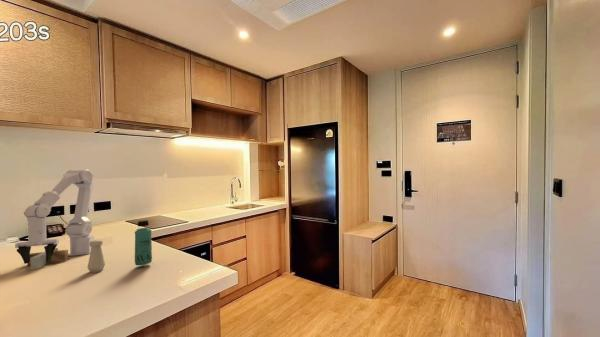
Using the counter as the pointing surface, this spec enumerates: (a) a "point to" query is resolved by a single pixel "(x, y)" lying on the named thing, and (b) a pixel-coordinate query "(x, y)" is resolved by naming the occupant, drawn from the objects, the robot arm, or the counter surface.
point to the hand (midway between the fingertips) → (37, 261)
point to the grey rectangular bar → (39, 260)
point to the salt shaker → (96, 257)
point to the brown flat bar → (53, 256)
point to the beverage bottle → (143, 244)
